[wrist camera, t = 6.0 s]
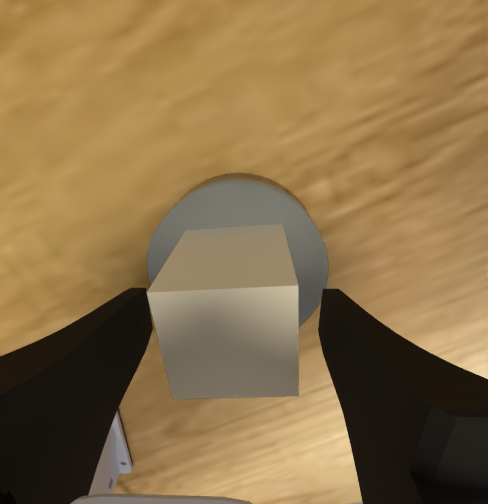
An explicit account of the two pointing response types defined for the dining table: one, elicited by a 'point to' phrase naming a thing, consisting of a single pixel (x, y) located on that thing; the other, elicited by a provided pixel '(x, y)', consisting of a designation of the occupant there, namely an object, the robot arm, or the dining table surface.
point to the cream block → (228, 314)
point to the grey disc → (248, 214)
